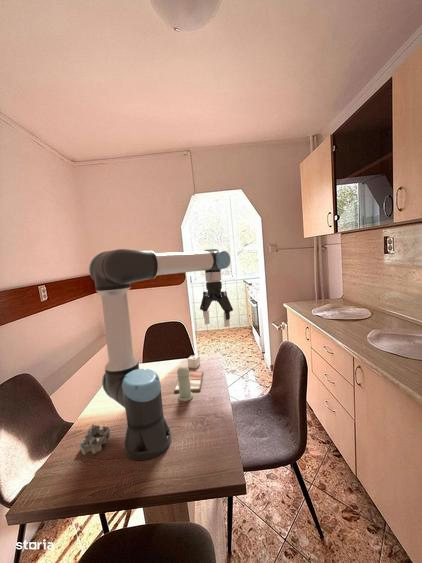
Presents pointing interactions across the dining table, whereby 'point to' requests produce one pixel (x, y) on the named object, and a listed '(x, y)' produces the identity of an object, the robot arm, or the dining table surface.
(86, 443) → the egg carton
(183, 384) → the pawn
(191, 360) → the die
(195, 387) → the board
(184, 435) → the dining table surface
